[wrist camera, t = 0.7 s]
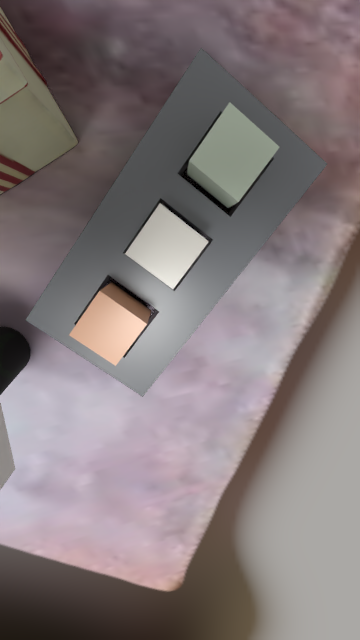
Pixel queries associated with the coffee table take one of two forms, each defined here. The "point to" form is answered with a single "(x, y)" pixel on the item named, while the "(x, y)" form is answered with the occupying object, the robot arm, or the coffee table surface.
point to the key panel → (192, 206)
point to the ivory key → (166, 246)
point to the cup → (12, 355)
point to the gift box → (26, 114)
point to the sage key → (231, 157)
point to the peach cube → (111, 323)
